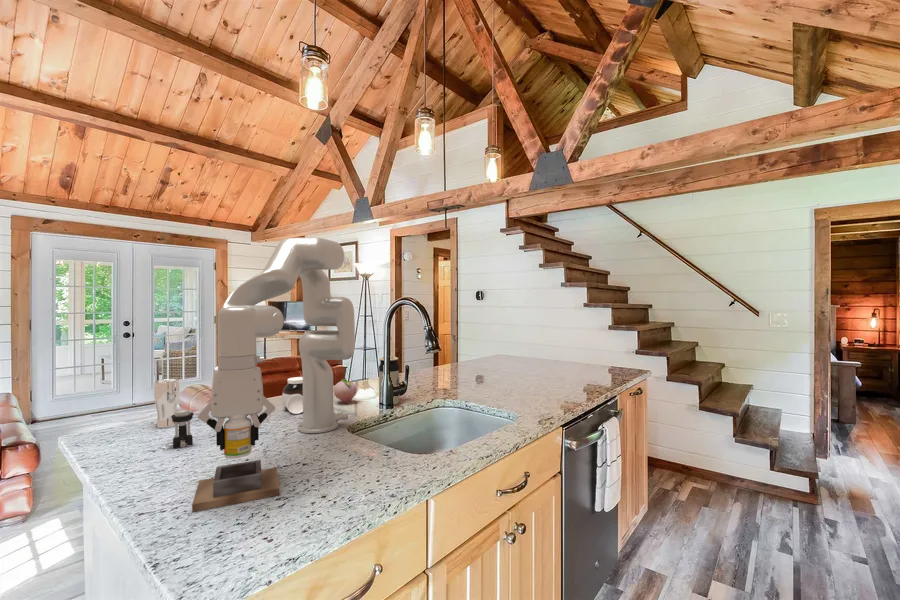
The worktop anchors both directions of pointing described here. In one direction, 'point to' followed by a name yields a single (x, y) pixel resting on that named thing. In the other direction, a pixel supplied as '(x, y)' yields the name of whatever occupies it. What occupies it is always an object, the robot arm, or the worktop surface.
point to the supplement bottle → (237, 437)
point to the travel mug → (393, 372)
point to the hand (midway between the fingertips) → (238, 445)
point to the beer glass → (166, 401)
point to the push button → (182, 429)
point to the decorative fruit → (345, 390)
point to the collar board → (236, 485)
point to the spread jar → (293, 395)
